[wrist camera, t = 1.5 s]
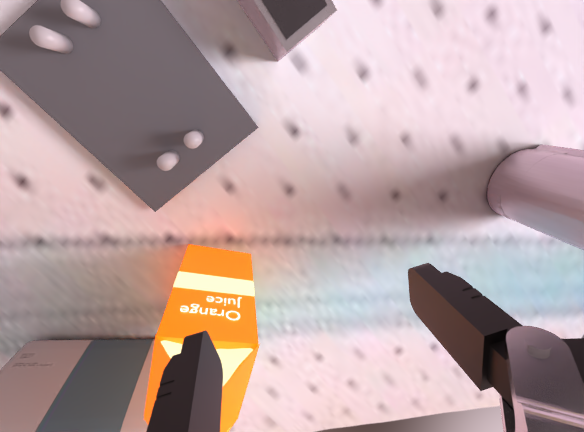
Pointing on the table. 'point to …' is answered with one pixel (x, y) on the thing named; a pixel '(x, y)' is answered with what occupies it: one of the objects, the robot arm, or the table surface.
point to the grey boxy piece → (286, 21)
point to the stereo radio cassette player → (76, 386)
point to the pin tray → (126, 89)
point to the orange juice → (211, 322)
